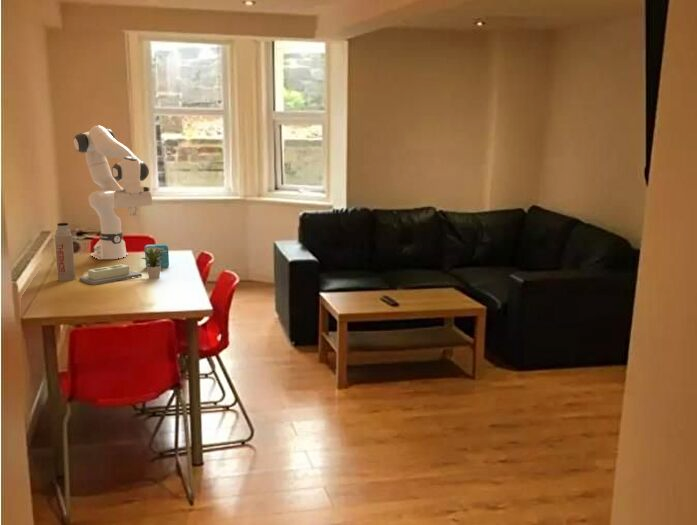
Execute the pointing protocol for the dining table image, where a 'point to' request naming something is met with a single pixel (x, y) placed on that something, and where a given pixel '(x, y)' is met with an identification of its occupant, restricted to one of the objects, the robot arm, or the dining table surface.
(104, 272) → the cream rectangular bar
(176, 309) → the dining table surface
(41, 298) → the dining table surface
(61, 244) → the thermos bottle
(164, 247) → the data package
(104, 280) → the boss board
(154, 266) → the house plant
